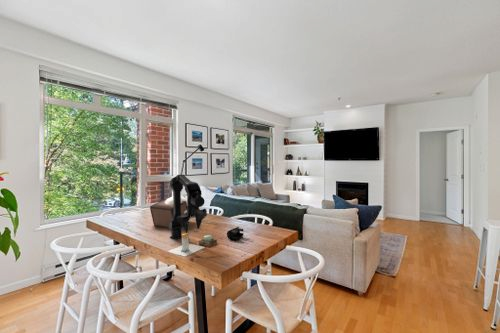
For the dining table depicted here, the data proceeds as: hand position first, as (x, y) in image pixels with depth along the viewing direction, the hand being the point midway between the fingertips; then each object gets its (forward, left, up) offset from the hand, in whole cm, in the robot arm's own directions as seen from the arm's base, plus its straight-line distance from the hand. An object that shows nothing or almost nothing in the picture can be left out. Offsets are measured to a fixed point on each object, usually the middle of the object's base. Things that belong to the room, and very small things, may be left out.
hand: (192, 230), depth 139 cm
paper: (-2, -3, -11) cm, 11 cm away
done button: (+2, +11, -9) cm, 14 cm away
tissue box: (-53, +33, -11) cm, 63 cm away
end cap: (+11, +28, -11) cm, 32 cm away
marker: (-1, -5, -10) cm, 11 cm away
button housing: (+2, +11, -11) cm, 15 cm away
